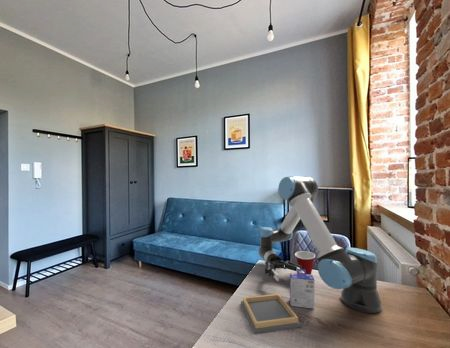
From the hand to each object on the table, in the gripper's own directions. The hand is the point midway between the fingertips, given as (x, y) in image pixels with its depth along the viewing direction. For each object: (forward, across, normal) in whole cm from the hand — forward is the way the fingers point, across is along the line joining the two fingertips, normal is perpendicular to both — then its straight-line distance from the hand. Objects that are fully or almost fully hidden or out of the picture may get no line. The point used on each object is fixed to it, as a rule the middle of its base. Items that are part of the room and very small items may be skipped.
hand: (291, 276), depth 104 cm
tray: (+13, +17, -7) cm, 23 cm away
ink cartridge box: (+9, 0, -8) cm, 12 cm away
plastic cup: (-15, -16, -8) cm, 23 cm away
